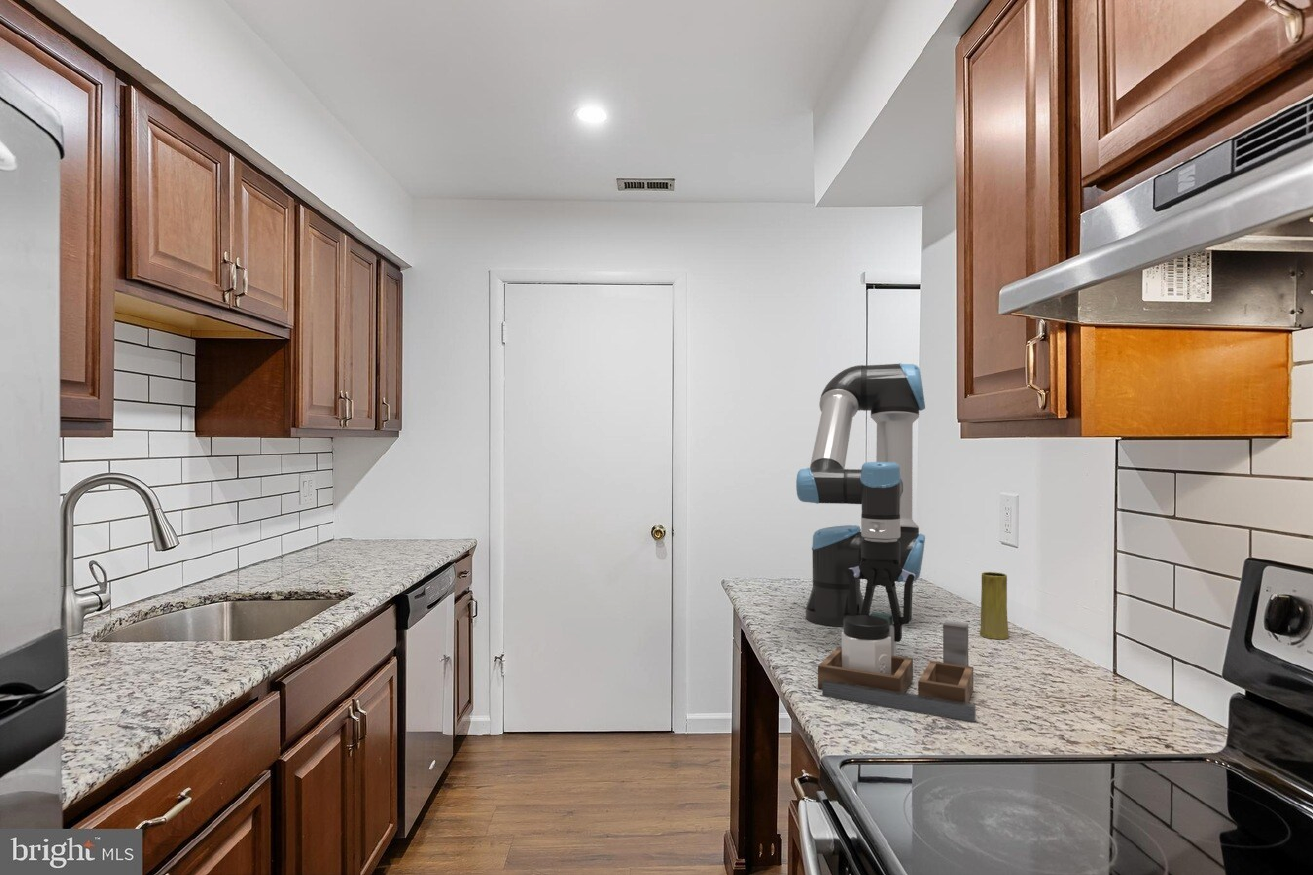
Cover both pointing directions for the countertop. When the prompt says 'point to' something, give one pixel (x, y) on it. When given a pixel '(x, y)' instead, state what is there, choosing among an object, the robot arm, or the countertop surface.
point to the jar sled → (893, 682)
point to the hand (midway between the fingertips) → (880, 655)
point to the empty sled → (950, 667)
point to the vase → (994, 606)
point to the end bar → (900, 700)
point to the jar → (866, 644)
